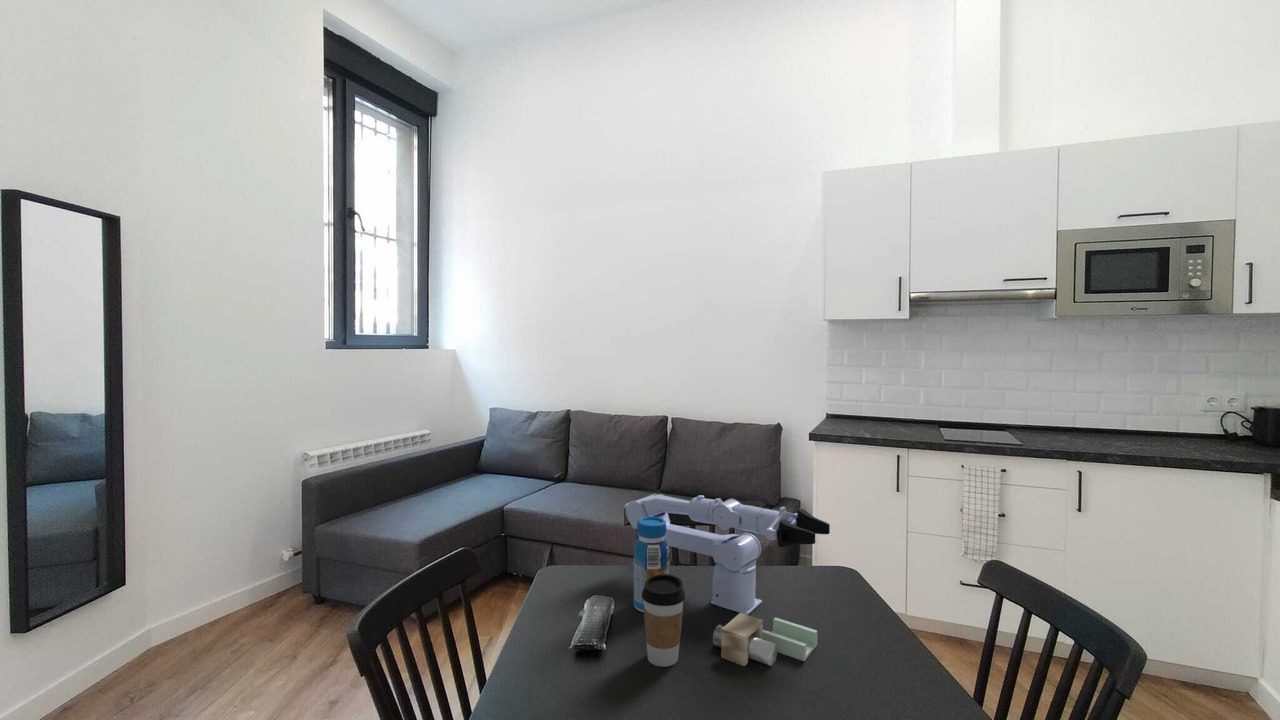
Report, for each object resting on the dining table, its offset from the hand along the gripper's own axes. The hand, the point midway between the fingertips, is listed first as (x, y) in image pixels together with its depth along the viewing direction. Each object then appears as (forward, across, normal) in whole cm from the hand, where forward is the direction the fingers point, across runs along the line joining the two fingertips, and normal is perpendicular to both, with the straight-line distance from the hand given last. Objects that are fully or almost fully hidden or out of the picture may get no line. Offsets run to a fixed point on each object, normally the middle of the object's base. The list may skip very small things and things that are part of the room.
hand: (822, 533), depth 120 cm
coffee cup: (-20, -29, +21) cm, 41 cm away
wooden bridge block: (-9, -17, +21) cm, 29 cm away
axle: (-9, -17, +21) cm, 29 cm away
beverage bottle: (-35, -14, +21) cm, 43 cm away
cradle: (-3, -9, +21) cm, 23 cm away
